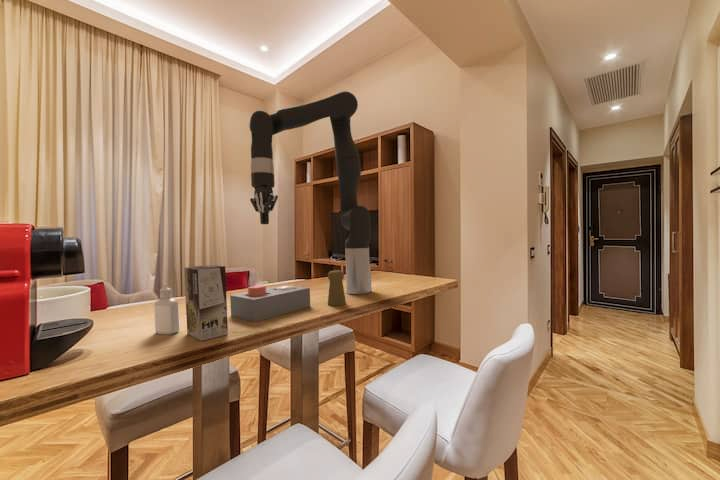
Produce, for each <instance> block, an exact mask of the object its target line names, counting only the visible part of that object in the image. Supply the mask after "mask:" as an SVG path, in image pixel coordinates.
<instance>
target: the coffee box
mask: <svg viewBox="0 0 720 480" xmlns="http://www.w3.org/2000/svg"><path fill="white" fill-rule="evenodd" d="M183 272H184V273H183V274H184V277H183V278H184V294H185V296H184V297H185V312H186V313H185V314H186V329H187V331H186V332H187V335H189V336H191V337H192V338H194V339H196V340H198V341H200V342H203V341H207V340H212V339H215V338H219V337H222V336H227V335H228V334H229V330H228V329H229V328H228V327H229V326H228V303H227V302H228V301H227V300H228V299H227V298H228V297H227V278H226V277H227V274H226V273H227V272H226V266H223V265H214V264H213V265H212V264H209V265H207V264H206V265H197V266H192V267H184V268H183Z"/></svg>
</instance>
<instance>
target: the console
mask: <svg viewBox="0 0 720 480" xmlns="http://www.w3.org/2000/svg"><path fill="white" fill-rule="evenodd" d="M281 286H291V285H289V284H288V285H287V284H284V285H278V286H273V287H266V295H262V296H257V297H251V296H248V291H246V292H241V293H236V294H235V293H234V294H231V295H229V299H230V302H229V303H230V316H231V317H234V318H238V319H242V320H246V321H249V322H253V323H256V322H261V321H263V320H267V319H271V318H274V317H279V316H282V315H285V314H289V313H292V312H296V311H300V310H303V309H306V308H310V307H311V288H310V287H306V286H305V287H304V286H299V285H292V286H293V289H291V290H286V291H279V290H277V287H281Z"/></svg>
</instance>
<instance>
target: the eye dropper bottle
mask: <svg viewBox="0 0 720 480" xmlns="http://www.w3.org/2000/svg"><path fill="white" fill-rule="evenodd" d="M172 296H173V295H172V288H171V287H169V286H168V283H163V285H162V288H160V289H159V299H157V300H156V301H155V302H154V304H153V305H154V308H153V309H154V328H155V329H154V330H155V333H156V334H157V335H173V334H176V333H178V332H180V321H179V320H180V317H179V303H178V301H177V300H176V299H175V298H172Z"/></svg>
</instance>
